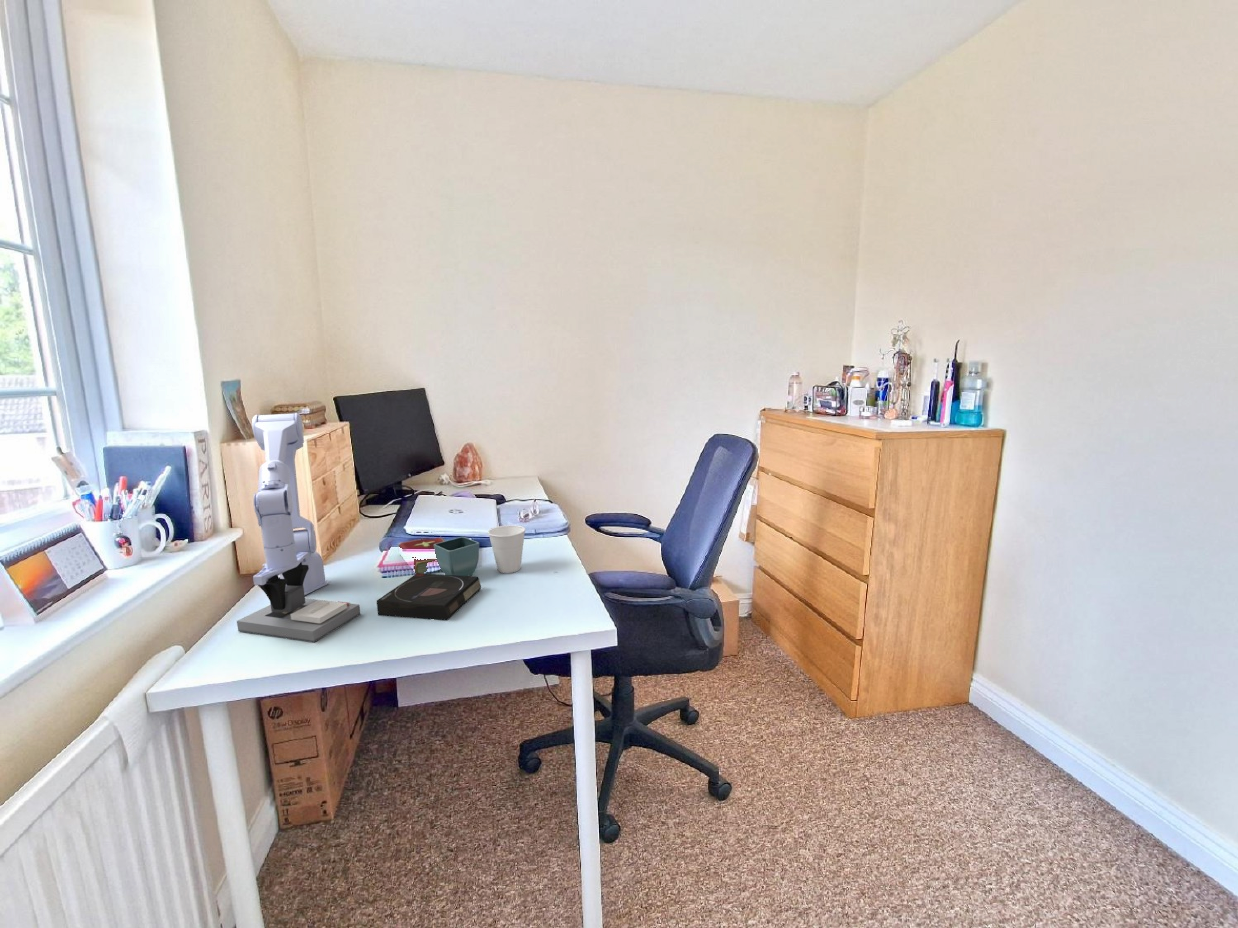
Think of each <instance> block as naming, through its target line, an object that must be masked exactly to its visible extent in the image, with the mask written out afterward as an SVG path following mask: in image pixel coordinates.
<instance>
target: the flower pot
mask: <svg viewBox="0 0 1238 928" xmlns="http://www.w3.org/2000/svg"><path fill="white" fill-rule="evenodd" d="M434 549H435V554H436V558H437V562H438V564H439V566H440V568H441V570H440V571H442V572H443V575H459V576H473V574H474V573H475V572H476V569H477V566H478V565H479V564H478V563H479V557H480V555H479V554H480V541H479V542H478V541H476V540H473V539H470V538H468V537H465V536H460V537H455V538H452V539H448V540H445V541H444V542H440V543H436V544H434Z"/></svg>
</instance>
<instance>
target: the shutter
mask: <svg viewBox="0 0 1238 928" xmlns="http://www.w3.org/2000/svg"><path fill="white" fill-rule="evenodd" d="M343 602H344V601H340V602H338V601H333V600H323V599H317V601H315V602H313V603H311V604H310V605H308V606H306V607H304V608H302V609H300V610H298V611H296V612H294V613H292V614H291V620H297V621H305V622H312V623H322V622H324V621H325V620H327V619H329V618H331V617H332V616H334V615H336V614H338V613H339V612H341V611H343V610H345V609H346V608H347V603H343Z"/></svg>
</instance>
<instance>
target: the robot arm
mask: <svg viewBox="0 0 1238 928" xmlns="http://www.w3.org/2000/svg"><path fill="white" fill-rule="evenodd" d="M302 419H303V418H302V416H301V414H299V412H294V413H278V414H262V415H261V414H255V415H254V416H253V417H252V421H251V426H252V427H251V428H252V433H253V437H254V439H255V440H256V442H257V445H258V447H260V449H261V451H264V456H265V457H264V458H265V462H264V463H262V464H261V465H260V467H259V470H258V471H259V472H258V485H257V486H258V488H257V493H254V494H253V509H254V513H255V516H256V519H257V524H258V527H260V531H261V538H262V544H263V550H264V551H263V552H264V558H265V559H264V560H265V563H263V564H262V569H261V570H259V572H257V573H256V574H254V575H253V576H252V580H253V585H254V586H258V587H259V588H260V589H261V590H262V592H264V594H265V595H266V596H267V598H268V600H269V603H270V602H271V604H272V606H273V608H274V610H283V609H285V587H286V586H303V587H304V595H305V596H307V595H308V594H310V593H312V592H315V591H316V590H318V589H320V588H323V587H324V586H326V585H328V584H329V582H328V581H326V575H325V567H324V561H323V557H322V556H321V555H320V553H319V552H317V547H318V546H317V536H316V531H315V526H314V524H313V522H312V521H311V520H309V519H307V518H305V517H303V516H301V512H300V511H301V510H300V501H299V499H300V498H299V490H298V481H297V480H298V479H297V469H296V460H295V459H296V456H297V451H298V450H299V449H301V448H303V447H304V442H305V439H304V427H303V420H302ZM302 528H303V529H302ZM294 529H297V530H294ZM271 604H270V605H271Z"/></svg>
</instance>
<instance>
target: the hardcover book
mask: <svg viewBox="0 0 1238 928" xmlns="http://www.w3.org/2000/svg"><path fill="white" fill-rule="evenodd" d="M421 539H422V540H421ZM444 541H446V540H445V539H444V538H443V537H441V538H436V539H423V538H419V539H414V540H408V541H402V542H398V546H399V547H400V548H402V549H434V544H436V543H440V542H444ZM412 558H414V557H412ZM415 558H416V557H415ZM435 560H437V559H427V560H426V559H424V560H421V559H420V560H418V559H417V560H416V559H414V565H415V566H414V569H415V573H416V574H417V573H424V572H426V571H427V569H428V568H426V566H427V563H428V562H432V561H435ZM415 573H414V574H415Z"/></svg>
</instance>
